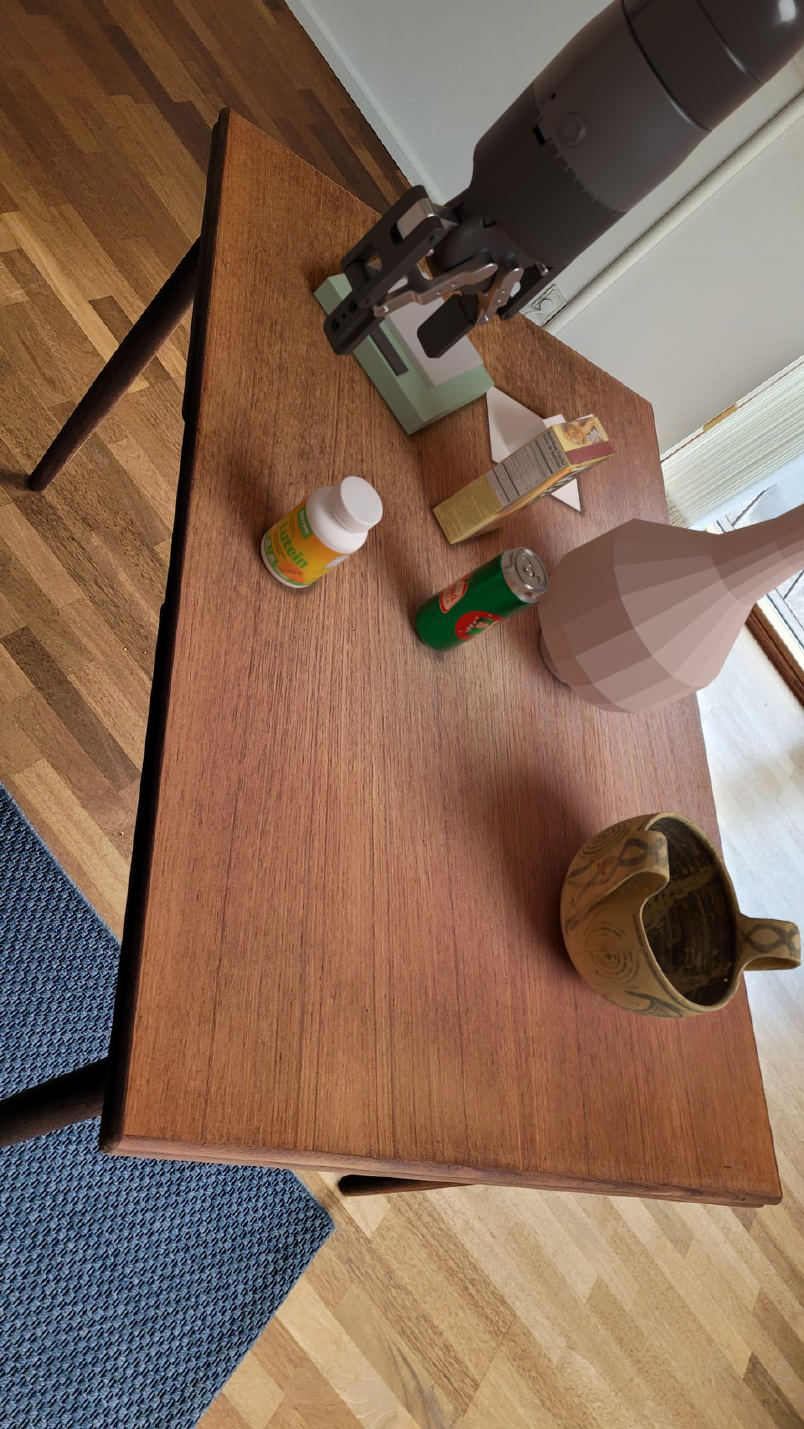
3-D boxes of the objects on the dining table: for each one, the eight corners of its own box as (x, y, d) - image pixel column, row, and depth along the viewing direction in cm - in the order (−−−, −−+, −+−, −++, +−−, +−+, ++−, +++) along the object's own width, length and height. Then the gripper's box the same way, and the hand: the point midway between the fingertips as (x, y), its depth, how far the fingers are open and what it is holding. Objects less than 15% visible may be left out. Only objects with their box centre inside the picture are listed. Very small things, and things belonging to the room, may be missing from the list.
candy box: (478, 494, 94) (596, 412, 83) (497, 530, 94) (617, 452, 83) (429, 509, 87) (550, 422, 77) (450, 548, 88) (573, 466, 77)
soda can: (424, 593, 83) (521, 531, 74) (459, 633, 84) (558, 577, 76) (402, 623, 79) (501, 562, 71) (439, 665, 81) (540, 610, 72)
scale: (312, 293, 87) (332, 271, 85) (397, 269, 98) (416, 249, 96) (408, 435, 89) (429, 417, 87) (479, 396, 101) (500, 379, 98)
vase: (584, 582, 102) (847, 439, 81) (633, 731, 98) (921, 619, 78) (482, 571, 90) (760, 398, 69) (533, 739, 86) (843, 610, 65)
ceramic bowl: (492, 981, 72) (650, 953, 62) (512, 795, 81) (652, 743, 71) (662, 1060, 83) (821, 1047, 72) (662, 887, 92) (803, 854, 82)
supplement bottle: (246, 539, 71) (319, 476, 64) (290, 521, 74) (363, 459, 68) (284, 598, 71) (360, 541, 64) (326, 577, 75) (402, 521, 68)
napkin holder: (570, 435, 111) (607, 409, 108) (581, 512, 107) (620, 487, 103) (484, 380, 102) (521, 349, 98) (492, 461, 98) (531, 432, 94)
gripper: (624, 104, 49) (427, 298, 60) (472, 29, 39) (268, 279, 50) (684, 226, 49) (474, 398, 60) (547, 183, 39) (325, 400, 50)
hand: (381, 344), depth 55 cm, fingers open, 8 cm apart
